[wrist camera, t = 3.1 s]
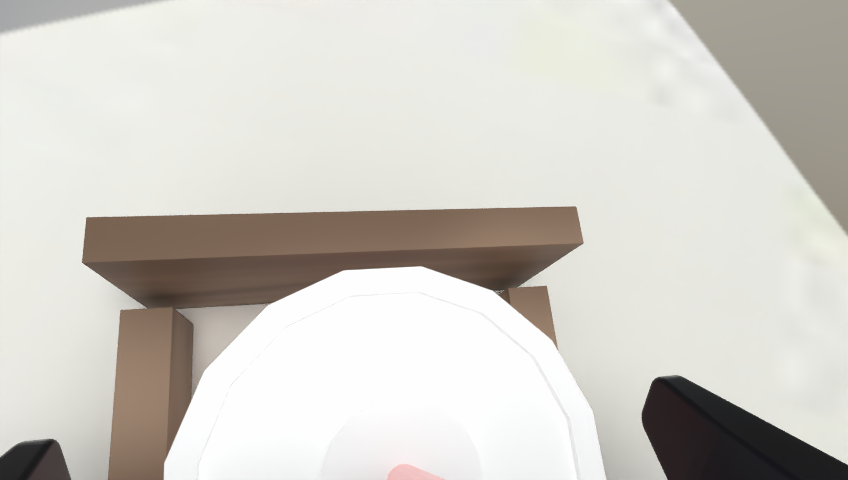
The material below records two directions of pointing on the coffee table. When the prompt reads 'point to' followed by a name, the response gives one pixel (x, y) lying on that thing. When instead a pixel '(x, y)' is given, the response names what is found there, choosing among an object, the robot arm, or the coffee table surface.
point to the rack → (285, 285)
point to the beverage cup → (388, 390)
